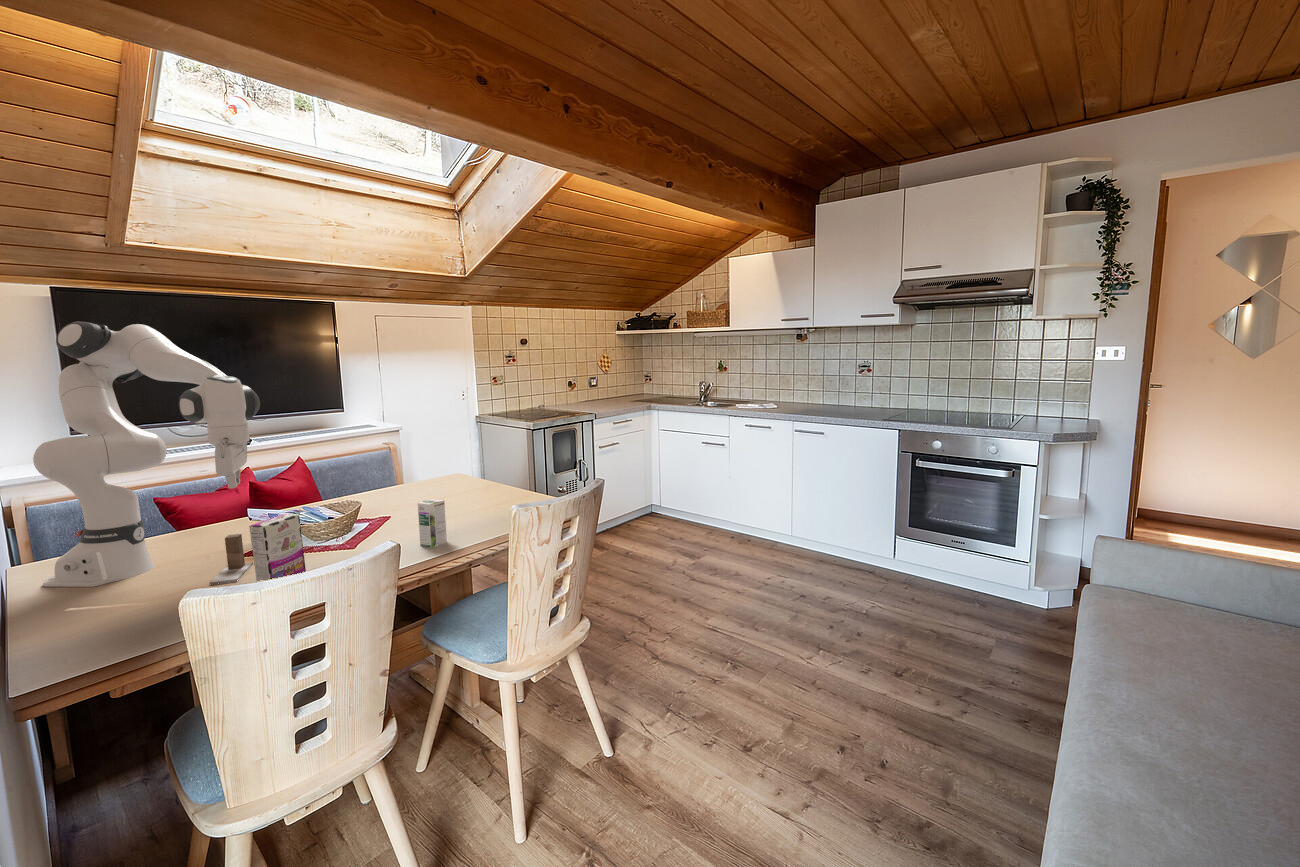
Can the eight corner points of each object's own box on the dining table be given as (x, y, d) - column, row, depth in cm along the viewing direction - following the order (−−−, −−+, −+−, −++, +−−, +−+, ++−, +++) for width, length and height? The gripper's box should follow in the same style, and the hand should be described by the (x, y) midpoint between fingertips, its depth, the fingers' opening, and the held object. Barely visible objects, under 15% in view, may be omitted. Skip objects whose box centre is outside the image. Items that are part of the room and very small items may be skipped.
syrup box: (419, 549, 170) (416, 502, 169) (433, 543, 176) (430, 498, 174) (434, 551, 168) (431, 504, 167) (448, 545, 174) (445, 499, 172)
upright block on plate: (228, 568, 157) (223, 534, 156) (253, 565, 159) (249, 531, 158) (209, 586, 145) (205, 548, 143) (237, 582, 147) (233, 545, 145)
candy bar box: (291, 571, 154) (285, 513, 152) (306, 572, 153) (300, 513, 151) (255, 587, 143) (248, 524, 141) (271, 588, 142) (264, 525, 140)
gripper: (235, 439, 143) (241, 492, 145) (249, 431, 161) (254, 478, 163) (205, 441, 140) (211, 495, 142) (222, 432, 158) (227, 480, 160)
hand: (234, 486), depth 153 cm, fingers open, 3 cm apart
